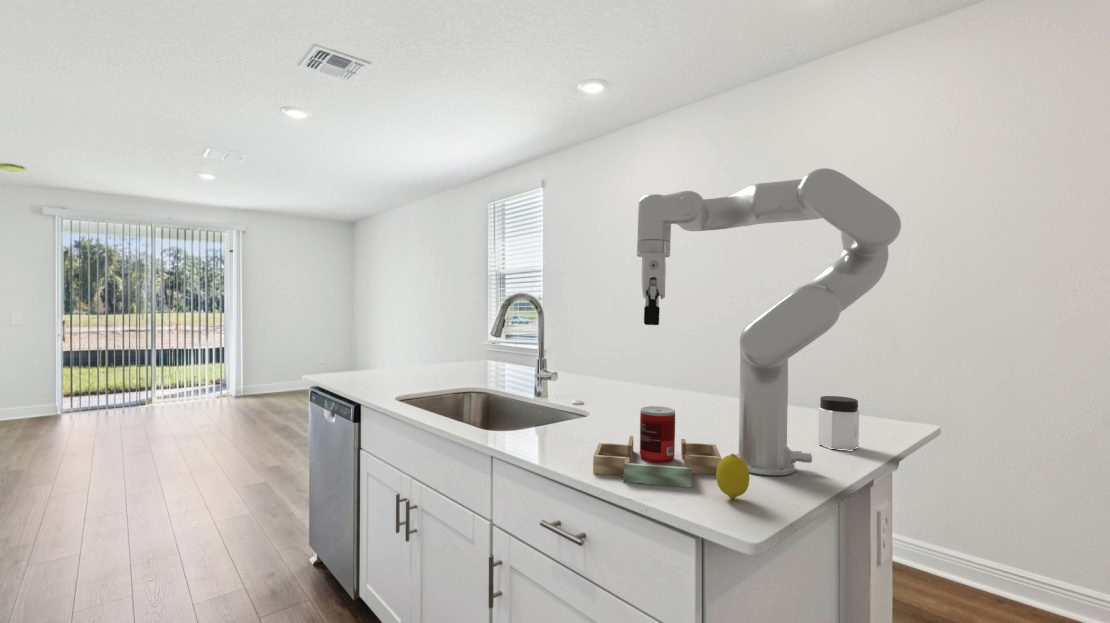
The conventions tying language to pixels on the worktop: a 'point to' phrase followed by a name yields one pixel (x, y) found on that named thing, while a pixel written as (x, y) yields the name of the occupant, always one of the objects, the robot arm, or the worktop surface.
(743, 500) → the worktop surface
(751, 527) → the worktop surface
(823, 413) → the jar
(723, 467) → the lemon
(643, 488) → the worktop surface
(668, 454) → the canned food
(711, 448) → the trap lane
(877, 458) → the worktop surface
